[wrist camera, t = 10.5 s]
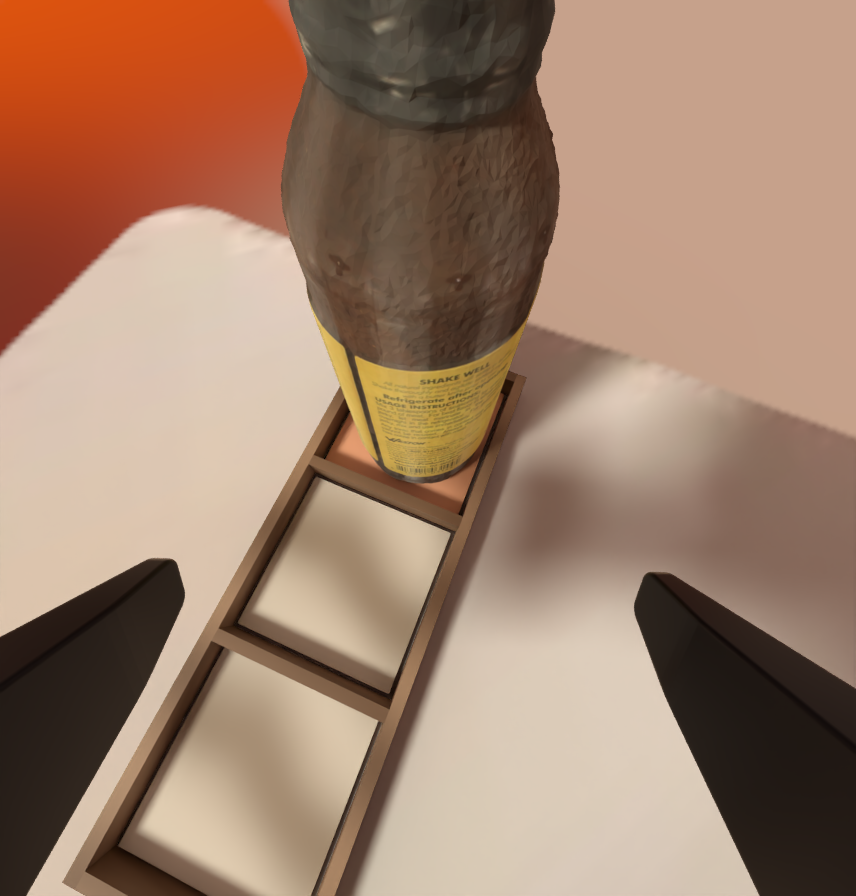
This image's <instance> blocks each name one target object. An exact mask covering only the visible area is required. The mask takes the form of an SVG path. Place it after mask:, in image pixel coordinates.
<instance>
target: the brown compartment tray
mask: <svg viewBox="0 0 856 896" xmlns="http://www.w3.org/2000/svg"><path fill="white" fill-rule="evenodd" d="M525 380H526V377H524V376H521V375H518V374H515V373H513V372H510V371H508V373H507V375H506V378H505V381H504V383H503V386H502V389H501V391H500V394H499V397H498V400H497V402H496V405H495V408H494V410H493V413H492V416H491V419H490V421H489V424H488V427H487V430H486V432H485V435H484V437H483V439H482V441H481V443H480V445H479V446H478V448H477V449H476V451H475V453H474V455H473V457H472V458H471V460H470V461H469V462H468V463H467V464H466V465H465V466H464V467H463V468H462V469H460V470H459V471H458V472H456V473H454V474H453V475H452V476H451V477H449V478H448V479H446V480H443V481H441V482H436V483H424V484H421V483H410V482H406V481H402V480H398V479H395V478H393V477H391V476H389V475H388V474H386V473H385V472H384V471H383V470H382V469H381V468H380V467H379V466H378V465H377V464H376V462H375V461H374V459H373V458H372V457H371V455H370V454H369V452H368V451H367V449H366V448H365V446H364V445H363V443H362V441H361V439H360V436H359V434H358V431H357V428H356V426H355V423H354V420H353V417H352V415H351V412H350V414H349V416H348V418H347V419H346V421H345V423H344V425H343V427H342V429H341V431H340V433H339V434H338V436H337V438H336V440H335V442H334V444H333V446H332V447H331V449H330V451H329V453H328V455H327V457H326V459H324V457H325V455H326V453H327V451H328V449H329V447H330V445H331V444H332V442H333V440H334V438H335V436H336V434H337V432H338V431H339V429H340V427H341V425H342V423H343V421H344V419H345V418H346V416H347V414H348V412H349V407H348V404H347V402H346V399H345V397H344V394H343V391H342V389H341V386H340V388H339V389H338V391H337V393H336V395H335V396H334V398H333V400H332V402H331V404H330V405H329V407H328V409H327V411H326V413H325V414H324V416H323V418H322V420H321V421H320V423H319V425H318V427H317V429H316V430H315V432H314V434H313V436H312V438H311V439H310V441H309V443H308V445H307V446H306V448H305V450H304V452H303V454H302V455H301V457H300V459H299V461H298V463H297V464H296V466H295V468H294V470H293V471H292V473H291V475H290V477H289V479H288V480H287V482H286V484H285V486H284V488H283V489H282V491H281V493H280V495H279V496H278V498H277V500H276V502H275V504H274V505H273V507H272V509H271V511H270V513H269V514H268V516H267V518H266V520H265V521H264V523H263V525H262V527H261V529H260V530H259V532H258V534H257V536H256V538H255V539H254V541H253V543H252V545H251V546H250V548H249V550H248V552H247V554H246V555H245V557H244V559H243V561H242V563H241V564H240V566H239V568H238V570H237V571H236V573H235V575H234V577H233V579H232V580H231V582H230V584H229V586H228V587H227V589H226V591H225V593H224V595H223V596H222V598H221V600H220V602H219V604H218V605H217V607H216V609H215V611H214V612H213V614H212V616H211V618H210V620H209V621H208V623H207V625H206V627H205V629H204V630H203V632H202V634H201V636H200V637H199V639H198V641H197V643H196V645H195V646H194V648H193V650H192V652H191V654H190V655H189V657H188V659H187V661H186V662H185V664H184V666H183V668H182V670H181V671H180V673H179V675H178V677H177V679H176V680H175V682H174V684H173V686H172V687H171V689H170V691H169V693H168V695H167V696H166V698H165V700H164V702H163V704H162V705H161V707H160V709H159V711H158V712H157V714H156V716H155V718H154V720H153V721H152V723H151V725H150V727H149V729H148V730H147V732H146V734H145V736H144V737H143V739H142V741H141V743H140V745H139V746H138V748H137V750H136V752H135V754H134V755H133V757H132V759H131V761H130V762H129V764H128V766H127V768H126V770H125V771H124V773H123V775H122V777H121V779H120V780H119V782H118V784H117V786H116V787H115V789H114V791H113V793H112V795H111V796H110V798H109V800H108V802H107V804H106V805H105V807H104V809H103V811H102V812H101V814H100V816H99V818H98V820H97V821H96V823H95V825H94V827H93V829H92V830H91V832H90V834H89V836H88V837H87V839H86V841H85V843H84V845H83V846H82V848H81V850H80V852H79V854H78V855H77V857H76V859H75V861H74V862H73V864H72V866H71V868H70V870H69V871H68V873H67V875H66V877H65V879H64V880H63V882H62V883H64V884H66V885H67V886H69V887H71V888H73V889H74V890H76V891H78V892H80V893H81V894H83V895H85V896H207V895H208V896H311V894H312V891H313V889H314V886H315V884H316V881H317V878H318V876H319V873H320V871H321V868H322V865H323V863H324V860H325V858H326V855H327V853H328V850H329V847H330V845H331V842H332V840H333V837H334V834H335V832H336V829H337V827H338V824H339V822H340V819H341V816H342V814H343V811H344V809H345V806H346V803H347V801H348V798H349V796H350V793H351V790H352V788H353V785H354V783H355V780H356V778H357V775H358V772H359V770H360V767H361V765H362V762H363V759H364V757H365V754H366V752H367V749H368V747H369V744H370V741H371V739H372V736H373V734H374V731H375V728H376V726H377V723H378V721H380V722H382V726H381V728H380V731H379V734H378V736H377V739H376V741H375V744H374V747H373V749H372V752H371V754H370V757H369V760H368V762H367V765H366V767H365V770H364V773H363V775H362V778H361V781H360V783H359V786H358V788H357V791H356V794H355V796H354V799H353V801H352V804H351V807H350V809H349V812H348V814H347V817H346V820H345V822H344V825H343V828H342V830H341V833H340V835H339V838H338V841H337V843H336V846H335V848H334V851H333V854H332V856H331V859H330V862H329V864H328V867H327V869H326V872H325V875H324V877H323V880H322V882H321V885H320V888H319V890H318V893H317V895H316V896H335V893H336V890H337V888H338V885H339V882H340V880H341V877H342V874H343V871H344V869H345V866H346V863H347V861H348V858H349V855H350V853H351V850H352V847H353V844H354V842H355V839H356V836H357V834H358V831H359V828H360V826H361V823H362V820H363V817H364V815H365V812H366V809H367V807H368V804H369V801H370V799H371V796H372V793H373V790H374V788H375V785H376V782H377V780H378V777H379V774H380V772H381V769H382V766H383V763H384V761H385V758H386V755H387V753H388V750H389V747H390V745H391V742H392V739H393V736H394V734H395V731H396V728H397V726H398V723H399V720H400V718H401V715H402V712H403V710H404V707H405V704H406V701H407V699H408V696H409V693H410V691H411V688H412V685H413V683H414V680H415V677H416V674H417V672H418V669H419V666H420V664H421V661H422V658H423V656H424V653H425V650H426V647H427V645H428V642H429V639H430V637H431V634H432V631H433V629H434V626H435V623H436V620H437V618H438V615H439V612H440V610H441V607H442V604H443V602H444V599H445V596H446V593H447V591H448V588H449V585H450V583H451V580H452V577H453V575H454V572H455V569H456V566H457V564H458V561H459V558H460V556H461V553H462V550H463V548H464V545H465V542H466V539H467V537H468V534H469V531H470V529H471V526H472V523H473V521H474V518H475V515H476V512H477V510H478V507H479V504H480V502H481V499H482V496H483V494H484V491H485V488H486V485H487V483H488V480H489V477H490V475H491V472H492V469H493V467H494V464H495V461H496V459H497V456H498V453H499V450H500V448H501V445H502V442H503V440H504V437H505V434H506V432H507V429H508V426H509V423H510V421H511V418H512V415H513V413H514V410H515V407H516V405H517V402H518V399H519V396H520V394H521V391H522V388H523V386H524V383H525ZM502 393H503V394H502ZM504 394H505V395H508V397H507V399H506V402H505V404H504V407H503V410H502V412H501V415H500V417H499V420H498V423H497V425H496V428H495V430H494V433H493V436H492V438H491V441H490V444H489V446H488V449H487V451H486V454H485V457H484V459H483V462H482V464H481V467H480V470H479V472H478V475H477V477H476V480H475V483H474V485H473V488H472V491H471V493H470V496H469V498H468V501H467V504H466V506H465V509H464V511H463V514H462V516H460V515H458V514H459V511H460V509H461V506H462V503H463V501H464V498H465V496H466V493H467V490H468V488H469V485H470V483H471V480H472V477H473V475H474V472H475V470H476V467H477V465H478V462H479V459H480V457H481V454H482V452H483V449H484V446H485V444H486V441H487V439H488V436H489V434H490V431H491V428H492V426H493V423H494V421H495V418H496V415H497V413H498V410H499V408H500V405H501V402H502V400H503V397H504ZM315 473H317V474H319V475H321V476H324V477H326V478H329V479H331V480H333V481H336V482H338V483H340V484H343V485H345V486H348V487H350V488H352V489H355V490H357V491H359V492H362V493H364V494H367V495H369V496H371V497H374V498H376V499H379V500H381V501H383V502H386V503H388V504H390V505H393V506H395V507H398V508H400V509H402V510H405V511H407V512H410V513H412V514H414V515H417V516H419V517H421V518H424V519H426V520H429V521H431V522H433V523H436V524H438V525H441V526H443V527H445V528H448V529H450V530H452V531H455V535H454V538H453V540H452V543H451V545H450V548H449V551H448V553H447V556H446V558H445V561H444V564H443V566H442V569H441V572H440V574H439V577H438V579H437V582H436V585H435V587H434V590H433V592H432V595H431V598H430V600H429V603H428V605H427V608H426V611H425V613H424V616H423V619H422V621H421V624H420V626H419V629H418V632H417V634H416V637H415V639H414V642H413V645H412V647H411V650H410V653H409V655H408V658H407V660H406V663H405V666H404V668H403V671H402V673H401V676H400V679H399V681H398V684H397V686H396V689H395V692H394V694H393V697H392V700H391V699H389V698H387V697H385V696H382V695H380V694H378V693H376V692H374V691H372V690H370V689H368V688H366V687H363V686H361V685H359V684H357V683H355V682H353V681H351V680H349V679H346V678H344V677H342V676H340V675H338V674H336V673H334V672H332V671H330V670H327V669H325V668H323V667H321V666H319V665H317V664H315V663H313V662H310V661H308V660H306V659H304V658H302V657H300V656H298V655H296V654H294V653H291V652H289V651H287V650H285V649H283V648H281V647H279V646H277V645H274V644H272V643H270V642H268V641H266V640H264V639H262V638H260V637H258V636H255V635H253V634H251V633H249V632H247V631H245V630H243V629H241V628H238V627H236V626H234V624H235V622H236V620H237V619H238V617H239V615H240V613H241V611H242V609H243V607H244V606H245V604H246V602H247V600H248V598H249V596H250V594H251V593H252V591H253V589H254V587H255V585H256V583H257V581H258V580H259V578H260V576H261V574H262V572H263V570H264V568H265V566H266V565H267V563H268V561H269V559H270V557H271V555H272V553H273V552H274V550H275V548H276V546H277V544H278V542H279V540H280V539H281V537H282V535H283V533H284V531H285V529H286V527H287V526H288V524H289V522H290V520H291V518H292V516H293V514H294V513H295V511H296V509H297V507H298V505H299V503H300V501H301V499H302V498H303V496H304V494H305V492H306V490H307V488H308V486H309V485H310V483H311V481H312V479H313V477H314V475H315ZM450 534H451V533H449V532H447V531H444V530H442V529H440V528H437V527H435V526H433V525H430V524H428V523H425V522H423V521H421V520H418V519H416V518H414V517H411V516H409V515H406V514H404V513H402V512H399V511H397V510H395V509H392V508H390V507H387V506H385V505H383V504H380V503H378V502H376V501H373V500H371V499H368V498H366V497H364V496H361V495H359V494H356V493H354V492H352V491H349V490H347V489H345V488H342V487H340V486H337V485H335V484H333V483H330V482H328V481H326V480H323V479H321V478H318V477H315V479H314V481H313V483H312V485H311V487H310V489H309V490H308V492H307V494H306V496H305V498H304V500H303V502H302V504H301V505H300V507H299V509H298V511H297V513H296V515H295V517H294V518H293V520H292V522H291V524H290V526H289V528H288V530H287V532H286V533H285V535H284V537H283V539H282V541H281V543H280V545H279V547H278V548H277V550H276V552H275V554H274V556H273V558H272V560H271V561H270V563H269V565H268V567H267V569H266V571H265V573H264V575H263V576H262V578H261V580H260V582H259V584H258V586H257V588H256V589H255V591H254V593H253V595H252V597H251V599H250V601H249V603H248V604H247V606H246V608H245V610H244V612H243V614H242V616H241V618H240V619H239V621H238V624H240V625H243V626H245V627H247V628H249V629H251V630H253V631H255V632H257V633H260V634H262V635H264V636H266V637H268V638H270V639H272V640H274V641H277V642H279V643H281V644H283V645H285V646H287V647H289V648H291V649H293V650H296V651H298V652H300V653H302V654H304V655H306V656H308V657H310V658H313V659H315V660H317V661H319V662H321V663H323V664H325V665H327V666H330V667H332V668H334V669H336V670H338V671H340V672H342V673H344V674H347V675H349V676H351V677H353V678H355V679H357V680H359V681H361V682H364V683H366V684H368V685H370V686H372V687H374V688H376V689H378V690H381V691H383V692H385V693H387V694H389V692H390V690H391V687H392V684H393V682H394V679H395V677H396V674H397V671H398V669H399V666H400V664H401V661H402V659H403V656H404V653H405V651H406V648H407V646H408V643H409V640H410V638H411V635H412V633H413V630H414V628H415V625H416V622H417V620H418V617H419V615H420V612H421V609H422V607H423V604H424V602H425V599H426V596H427V594H428V591H429V589H430V586H431V584H432V581H433V578H434V576H435V573H436V571H437V568H438V565H439V563H440V560H441V558H442V555H443V552H444V550H445V547H446V545H447V542H448V540H449V537H450ZM222 647H224V649H223V651H222V653H221V655H220V657H219V659H218V660H217V662H216V664H215V666H214V668H213V670H212V672H211V674H210V675H209V677H208V679H207V681H206V683H205V685H204V687H203V689H202V690H201V692H200V694H199V696H198V698H197V700H196V702H195V703H194V705H193V707H192V709H191V711H190V713H189V715H188V717H187V718H186V720H185V722H184V724H183V726H182V728H181V730H180V731H179V733H178V735H177V737H176V739H175V741H174V743H173V745H172V746H171V748H170V750H169V752H168V754H167V756H166V758H165V760H164V761H163V763H162V765H161V767H160V769H159V771H158V773H157V774H156V776H155V778H154V780H153V782H152V784H151V786H150V788H149V789H148V791H147V793H146V795H145V797H144V799H143V801H142V802H141V804H140V806H139V808H138V810H137V812H136V814H135V816H134V817H133V819H132V821H131V823H130V825H129V827H128V829H127V831H126V832H125V834H124V836H123V838H122V840H121V842H120V844H119V845H118V846H117V845H116V844H117V842H118V840H119V838H120V836H121V835H122V833H123V831H124V829H125V827H126V825H127V823H128V822H129V820H130V818H131V816H132V814H133V812H134V810H135V808H136V807H137V805H138V803H139V801H140V799H141V797H142V795H143V794H144V792H145V790H146V788H147V786H148V784H149V782H150V781H151V779H152V777H153V775H154V773H155V771H156V769H157V768H158V766H159V764H160V762H161V760H162V758H163V756H164V755H165V753H166V751H167V749H168V747H169V745H170V743H171V741H172V740H173V738H174V736H175V734H176V732H177V730H178V728H179V727H180V725H181V723H182V721H183V719H184V717H185V715H186V714H187V712H188V710H189V708H190V706H191V704H192V702H193V701H194V699H195V697H196V695H197V693H198V691H199V689H200V687H201V686H202V684H203V682H204V680H205V678H206V676H207V674H208V673H209V671H210V669H211V667H212V665H213V663H214V661H215V660H216V658H217V656H218V654H219V652H220V650H221V648H222ZM119 846H120V847H119ZM122 848H123V849H122ZM124 849H125V850H124ZM126 850H127V851H126ZM128 851H129V852H128ZM131 853H132V854H131ZM133 854H134V855H133ZM135 855H136V856H135ZM137 856H138V857H137ZM142 859H143V860H142ZM144 860H145V861H144ZM146 861H147V862H146ZM151 864H152V865H151ZM153 865H154V866H153ZM155 866H156V867H155ZM157 867H158V868H157ZM160 869H161V870H160ZM162 870H163V871H162ZM164 871H165V872H164ZM166 872H167V873H166ZM169 874H170V875H169ZM171 875H172V876H171ZM173 876H174V877H173ZM175 877H176V878H175ZM180 880H181V881H180ZM182 881H183V882H182ZM184 882H185V883H184ZM189 885H190V886H189ZM191 886H192V887H191ZM193 887H194V888H193ZM195 888H196V889H195ZM198 890H199V891H198ZM200 891H201V892H200ZM202 892H203V893H202ZM204 893H205V894H204Z"/></svg>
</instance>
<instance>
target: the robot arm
mask: <svg viewBox="0 0 856 896" xmlns="http://www.w3.org/2000/svg"><path fill="white" fill-rule="evenodd" d="M184 599H185V590H184V587H183V583H182V579H181V576H180V572H179V569H178V565H177V563H176V562H175V561H174V560H173V559H168V558H151V559H148V560H145V561H144V562H142V563H140V564H138V565H136V566H134V567H132V568H130V569H128V570H126V571H125V572H123V573H121V574H119V575H117V576H115V577H113V578H111V579H109V580H108V581H106V582H104V583H102V584H100V585H98V586H96V587H94V588H92V589H90V590H89V591H87V592H85V593H83V594H81V595H79V596H77V597H75V598H73V599H71V600H70V601H68V602H66V603H64V604H62V605H60V606H58V607H56V608H54V609H52V610H51V611H49V612H47V613H45V614H43V615H41V616H39V617H37V618H35V619H34V620H32V621H30V622H28V623H26V624H24V625H22V626H20V627H18V628H16V629H15V630H13V631H11V632H9V633H7V634H5V635H3V636H1V637H0V896H26V895H27V893H28V892H29V890H30V888H31V886H32V885H33V883H34V881H35V879H36V878H37V876H38V874H39V872H40V871H41V869H42V867H43V865H44V864H45V862H46V860H47V858H48V857H49V855H50V853H51V851H52V850H53V848H54V846H55V844H56V843H57V841H58V839H59V837H60V836H61V834H62V832H63V830H64V829H65V827H66V825H67V823H68V822H69V820H70V818H71V816H72V815H73V813H74V811H75V809H76V808H77V806H78V804H79V802H80V801H81V799H82V797H83V795H84V794H85V792H86V790H87V788H88V787H89V785H90V783H91V781H92V780H93V778H94V776H95V774H96V773H97V771H98V769H99V767H100V766H101V764H102V762H103V760H104V759H105V757H106V755H107V753H108V752H109V750H110V748H111V746H112V745H113V743H114V741H115V739H116V738H117V736H118V734H119V732H120V731H121V729H122V727H123V725H124V724H125V722H126V720H127V718H128V717H129V715H130V713H131V711H132V710H133V708H134V706H135V704H136V703H137V701H138V699H139V697H140V695H141V693H142V692H143V690H144V688H145V686H146V684H147V682H148V680H149V678H150V676H151V674H152V672H153V670H154V667H155V665H156V663H157V661H158V659H159V656H160V654H161V652H162V650H163V648H164V645H165V643H166V641H167V639H168V637H169V634H170V632H171V630H172V628H173V626H174V623H175V621H176V619H177V617H178V615H179V612H180V610H181V608H182V606H183V603H184ZM634 612H635V616H636V619H637V622H638V625H639V627H640V630H641V633H642V636H643V638H644V641H645V644H646V647H647V649H648V652H649V655H650V658H651V660H652V663H653V666H654V668H655V671H656V674H657V677H658V679H659V682H660V685H661V687H662V690H663V692H664V695H665V697H666V699H667V702H668V704H669V706H670V708H671V710H672V713H673V715H674V717H675V719H676V721H677V723H678V725H679V727H680V729H681V731H682V734H683V736H684V738H685V740H686V742H687V744H688V746H689V748H690V750H691V753H692V755H693V757H694V759H695V761H696V763H697V765H698V767H699V769H700V771H701V774H702V776H703V778H704V780H705V782H706V784H707V786H708V788H709V790H710V793H711V795H712V797H713V799H714V801H715V803H716V805H717V807H718V809H719V812H720V814H721V816H722V818H723V820H724V822H725V824H726V826H727V828H728V830H729V833H730V835H731V837H732V839H733V841H734V843H735V845H736V847H737V849H738V852H739V854H740V856H741V858H742V860H743V862H744V864H745V866H746V868H747V870H748V873H749V875H750V877H751V879H752V881H753V883H754V885H755V887H756V889H757V892H758V894H759V896H856V689H855V688H854V687H852V686H851V685H849V684H847V683H846V682H844V681H843V680H841V679H839V678H838V677H836V676H835V675H833V674H831V673H830V672H828V671H827V670H825V669H823V668H822V667H820V666H819V665H817V664H815V663H814V662H812V661H811V660H809V659H807V658H806V657H804V656H802V655H801V654H799V653H798V652H796V651H794V650H793V649H791V648H790V647H788V646H786V645H785V644H783V643H782V642H780V641H778V640H777V639H775V638H774V637H772V636H770V635H769V634H767V633H766V632H764V631H762V630H761V629H759V628H757V627H756V626H754V625H753V624H751V623H749V622H748V621H746V620H745V619H743V618H741V617H740V616H738V615H737V614H735V613H733V612H732V611H730V610H729V609H727V608H725V607H724V606H722V605H721V604H719V603H717V602H716V601H714V600H713V599H711V598H709V597H708V596H706V595H704V594H703V593H701V592H700V591H698V590H696V589H695V588H693V587H692V586H690V585H688V584H687V583H685V582H684V581H682V580H680V579H679V578H677V577H676V576H674V575H672V574H670V573H666V572H649V573H647V574H645V575H644V577H643V580H642V583H641V585H640V588H639V591H638V594H637V597H636V600H635V603H634Z"/></svg>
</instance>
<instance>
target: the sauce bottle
mask: <svg viewBox="0 0 856 896" xmlns="http://www.w3.org/2000/svg"><path fill="white" fill-rule="evenodd" d="M289 6H290V11H291V14H292V17H293V20H294V23H295V25H296V29H297V32H298V36H299V39H300V42H301V46H302V49H303V52H304V55H305V57H306V61H307V70H308V73H307V79H306V81H305V83H304V86H303V89H302V94H301V98H300V102H299V104H298V107H297V109H296V112H295V115H294V118H293V120H292V125H291V129H290V132H289V135H288V139H287V150H286V155H285V160H284V166H283V170H282V183H281V192H282V194H281V197H282V206H283V213H284V217H285V220H286V224H287V228H288V230H289V234H290V240H291V242H292V245H293V247H294V249H295V252H296V255H297V258H298V261H299V263H300V266H301V269H302V271H303V274H304V277H305V279H306V285H307V294H308V298H309V302H310V306H311V309H312V311H313V314H314V317H315V319H316V322H317V325H318V327H319V330H320V333H321V335H322V338H323V341H324V343H325V346H326V349H327V351H328V354H329V357H330V359H331V362H332V365H333V367H334V370H335V373H336V375H337V378H338V381H339V383H340V386H341V389H342V391H343V394H344V397H345V399H346V402H347V404H348V407H349V410H350V412H351V415H352V417H353V420H354V423H355V426H356V428H357V431H358V434H359V436H360V439H361V441H362V443H363V445H364V446H365V448H366V449H367V451H368V452H369V454H370V455H371V457H372V458H373V459H374V461H375V462H376V464H377V465H378V466H379V467H380V468H381V469H382V470H383V471H384V472H385V473H386V474H388V475H389V476H391V477H393V478H395V479H398V480H402V481H406V482H410V483H421V484H424V483H436V482H441V481H443V480H446V479H448V478H449V477H451V476H452V475H453V474H454V473H456V472H458V471H459V470H460V469H462V468H463V467H464V466H465V465H466V464H467V463H468V462H469V461H470V460H471V458H472V457H473V455H474V453H475V451H476V449H477V448H478V446H479V445H480V443H481V441H482V439H483V437H484V435H485V432H486V430H487V427H488V424H489V421H490V419H491V416H492V413H493V410H494V408H495V405H496V402H497V400H498V397H499V394H500V391H501V389H502V386H503V383H504V381H505V378H506V375H507V373H508V370H509V367H510V365H511V362H512V359H513V357H514V354H515V351H516V349H517V346H518V344H519V341H520V338H521V336H522V333H523V330H524V328H525V325H526V322H527V320H528V317H529V314H530V311H531V309H532V306H533V303H534V300H535V298H536V295H537V292H538V289H539V285H540V282H541V277H542V272H543V267H544V260H545V258H546V257H547V255H548V250H549V247H550V245H551V243H552V239H553V234H554V230H555V226H556V219H557V217H558V205H559V188H560V185H559V169H558V164H557V161H556V155H555V147H554V144H553V141H552V137H553V133H552V131H551V130H550V127H549V124H548V122H547V120H546V114H545V110H544V109H543V107H542V103H541V98H540V96H539V94H538V91H537V84H536V75H537V73H538V71H539V69H540V67H541V61H542V51H543V49H544V46H545V44H546V42H547V39H548V36H549V33H550V29H551V25H552V21H553V17H554V14H555V2H554V0H289Z"/></svg>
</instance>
